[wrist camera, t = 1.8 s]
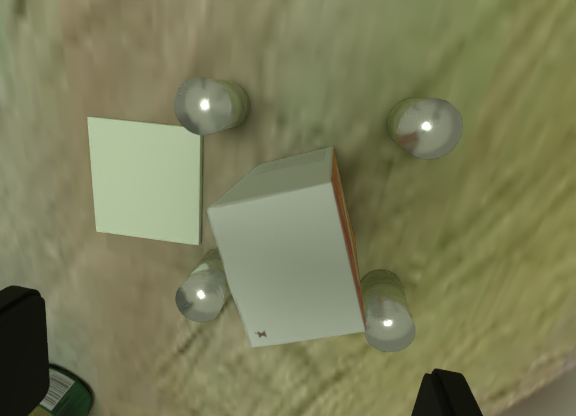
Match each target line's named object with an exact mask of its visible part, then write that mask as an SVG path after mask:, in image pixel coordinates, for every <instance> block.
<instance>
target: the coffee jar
mask: <svg viewBox="0 0 576 416" xmlns="http://www.w3.org/2000/svg"><path fill="white" fill-rule="evenodd" d="M49 376H50V387H49V390H48V393H47V395H46V396H45V398H44V399H43V400H42V402H41V403H40V404H39V405H38V406H37V407H36V408H35V409H34V410H33V411H32V412H31V413H30V414H29V415H28V416H87V414H88V412H89V409H90V405H91V396H90V394H89V392H88V391H87V389H86V388H85V387H84V386H83V385H82V384H81V383H80V381H79V380H78V379H77V378H75V377H74V376H72V375H70V374H69V373H67V372H65V371H63V370H60V369H56V368H53V367H49Z"/></svg>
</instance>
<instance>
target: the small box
mask: <svg viewBox="0 0 576 416" xmlns="http://www.w3.org/2000/svg"><path fill="white" fill-rule="evenodd" d="M207 215H208V218H209V221H210V225H211V228H212V231H213V234H214V238H215V241H216V244H217V247H218V250H219V253H220V257H221V260H222V263H223V266H224V270H225V274H226V278H227V282H228V285H229V288H230V291H231V293H232V296H233V299H234V301H235V303H236V305H237V308H238V311H239V314H240V317H241V320H242V323H243V326H244V328H245V331H246V334H247V337H248V340H249V343H250V346H251V347H252V348H255V347H261V346H269V345H277V344H284V343H291V342H298V341H305V340H312V339H319V338H325V337H332V336H339V335H346V334H352V333H359V332H365V331H366V322H365V316H364V308H363V301H362V293H361V284H360V276H359V269H358V262H357V251H356V243H355V237H354V233H353V230H352V226H351V222H350V218H349V213H348V209H347V205H346V200H345V196H344V191H343V187H342V182H341V178H340V173H339V169H338V164H337V159H336V155H335V149H334V147H328V148H324V149H319V150H315V151H311V152H307V153H303V154H299V155H294V156H290V157H286V158H282V159H278V160H273V161H269V162H265V163H261V164H259V165H258V166H256V167H255V168H254V169H253V170H252V171H250V172H249V173H248V174H247V175H246V176H245V177H243V178H242V179H241V180H240V181H239V182H238V183H237V184H235V185H234V186H233V187H232V188H231V189H230V190H228V191H227V192H226V193H225V194H224V195H223V196H222V197H220V198H219V199H218V200H217V201H216V202H214V203H213V204H212V205H210V206H209V207H208V208H207Z"/></svg>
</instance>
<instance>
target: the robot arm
mask: <svg viewBox="0 0 576 416" xmlns="http://www.w3.org/2000/svg"><path fill="white" fill-rule="evenodd" d="M49 387H50V376H49V360H48V343H47V327H46V310H45V301H44V299H43V298H42V297H41V295H40V293H39V291H37V290H35V289H30V288H25V287H20V286H9V287H6V288H5V289H3V290H1V291H0V416H28V415H29V414H30V413H31V412H32V411H33V410H34V409H35V408H36V407H37V406H38V405H39V404H40V403H41V402H42V400H43V399H44V398H45V396H46V395H47V393H48V390H49ZM411 416H483V415H482V413H481V411H480V408H479V406H478V404H477V402H476V400H475V398H474V396H473V394H472V392H471V390H470V388H469V386H468V384H467V381H466V379H465V378H464V376H463V375H462V374H461V373H457V372H452V371H447V370H442V369H434V370H433V371H432V374H428V373H426V374H425V375H424V377H423V379H422V383H421V386H420V389H419V392H418V396H417V399H416V402H415V405H414V409H413V412H412V415H411Z"/></svg>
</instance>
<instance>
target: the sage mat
mask: <svg viewBox="0 0 576 416" xmlns="http://www.w3.org/2000/svg"><path fill="white" fill-rule="evenodd" d="M87 118H88V131H89V144H90V157H91V169H92V182H93V195H94V208H95V220H96V231H98V232H105V233H112V234H120V235H127V236H134V237H142V238H149V239H156V240H164V241H171V242H178V243H186V244H193V245H199V244H200V243H201V221H202V159H203V135H196V134H193V133H191V132H189V131H188V130H187V129H185V128H184V127H183V126H179V125H169V124H159V123H150V122H140V121H131V120H121V119H112V118H102V117H93V116H91V117H87Z"/></svg>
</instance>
